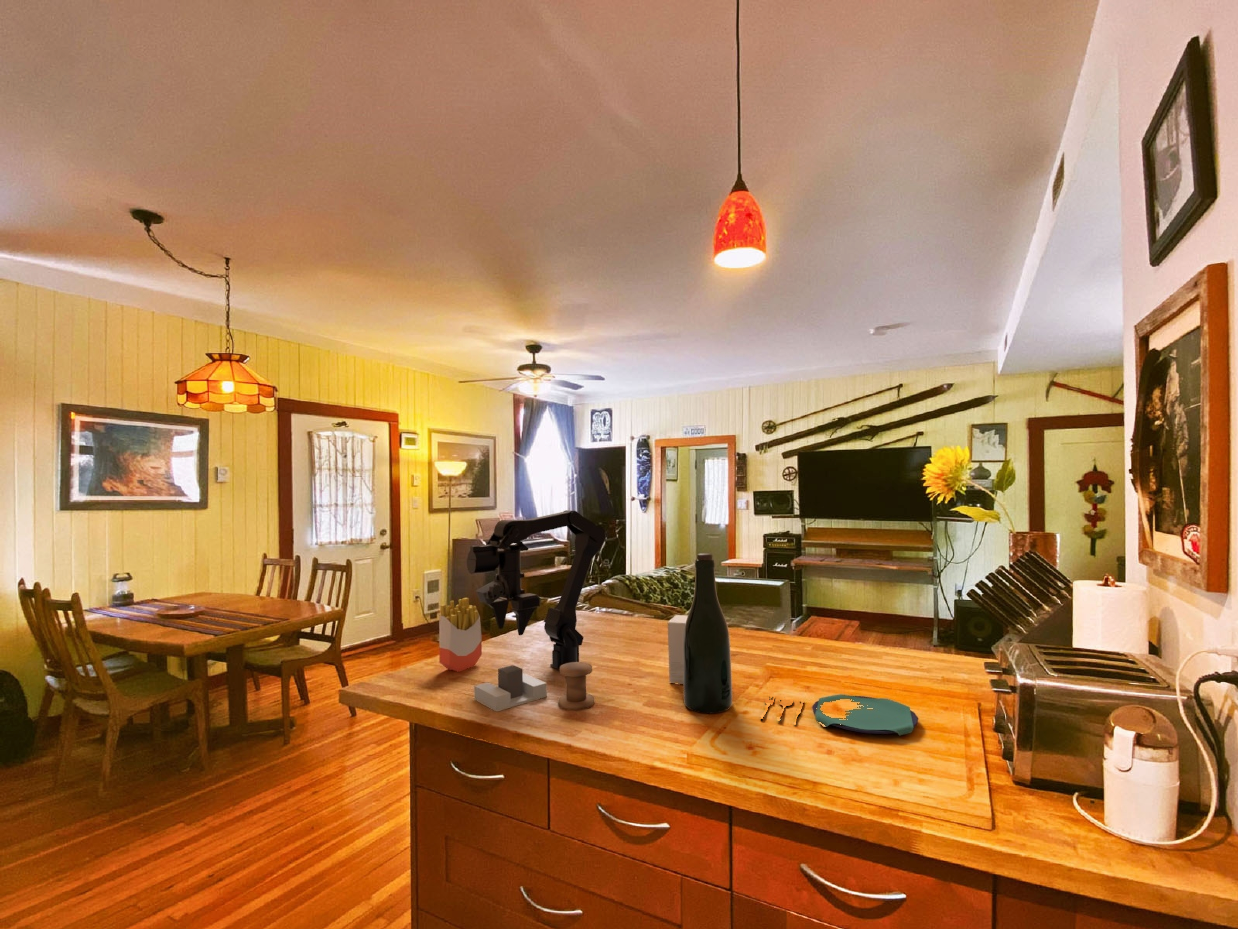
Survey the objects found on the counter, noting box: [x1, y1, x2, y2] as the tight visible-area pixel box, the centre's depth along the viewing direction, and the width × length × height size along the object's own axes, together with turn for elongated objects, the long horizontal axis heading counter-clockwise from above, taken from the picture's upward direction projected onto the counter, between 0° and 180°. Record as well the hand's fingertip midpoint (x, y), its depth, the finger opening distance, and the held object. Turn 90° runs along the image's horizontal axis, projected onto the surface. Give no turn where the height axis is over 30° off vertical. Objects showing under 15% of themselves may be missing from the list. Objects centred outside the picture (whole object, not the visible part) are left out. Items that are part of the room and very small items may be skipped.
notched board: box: [473, 672, 548, 713], centre depth 133 cm, size 13×10×3 cm
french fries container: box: [438, 597, 483, 673], centre depth 156 cm, size 5×11×18 cm, turn 145°
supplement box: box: [667, 614, 688, 685], centre depth 144 cm, size 9×9×15 cm
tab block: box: [497, 664, 524, 699], centre depth 133 cm, size 4×4×6 cm
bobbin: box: [557, 661, 595, 711], centre depth 129 cm, size 8×8×8 cm
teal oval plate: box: [780, 693, 919, 737], centre depth 119 cm, size 20×30×2 cm, turn 67°
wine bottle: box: [683, 552, 733, 714], centre depth 127 cm, size 10×10×33 cm
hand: (510, 632), depth 146 cm, fingers open, 9 cm apart
